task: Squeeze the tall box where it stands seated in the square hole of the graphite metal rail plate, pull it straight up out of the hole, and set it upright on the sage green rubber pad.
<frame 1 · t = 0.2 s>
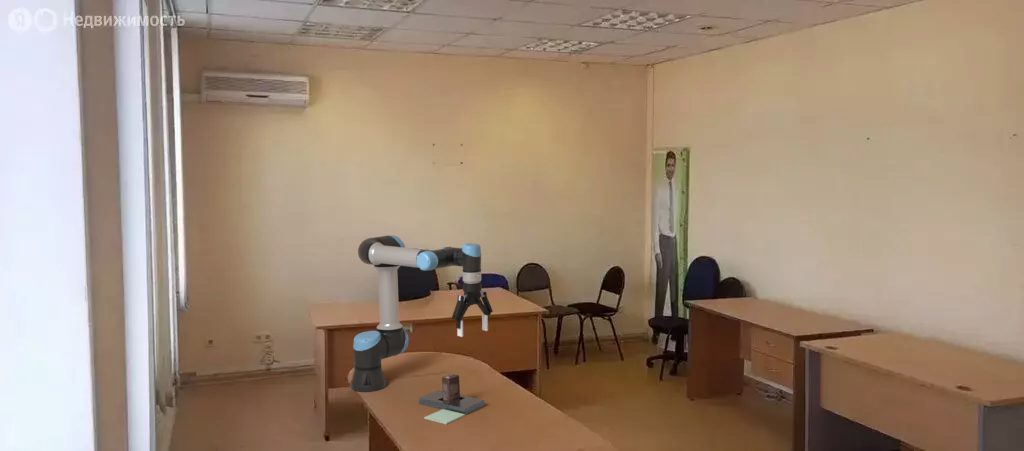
hand: (472, 333, 305), 27 cm above the table, fingers open, 13 cm apart
box: (451, 405, 301), resting in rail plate
pad: (444, 417, 286), on the table
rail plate: (451, 404, 300), on the table
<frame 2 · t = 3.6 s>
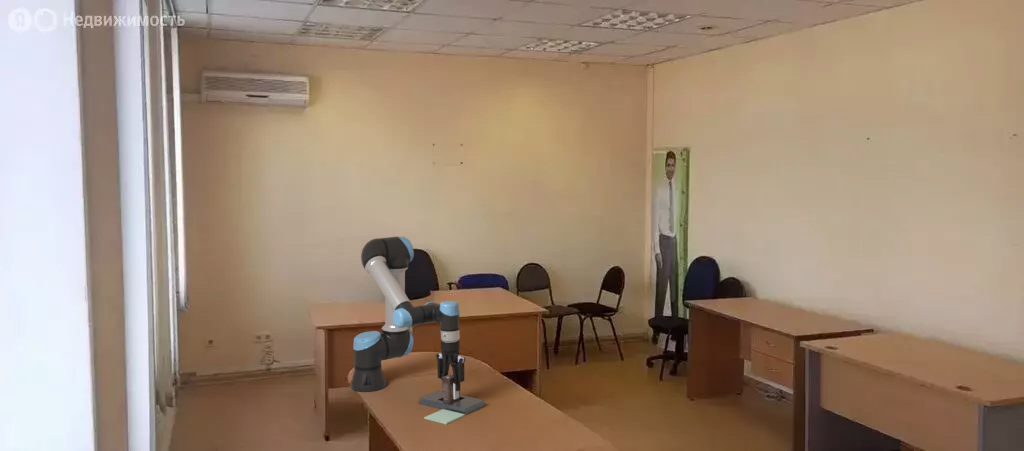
hand: (451, 397, 300), 3 cm above the table, fingers closed on box, 4 cm apart
box: (451, 405, 300), resting in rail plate, touching gripper
when the fingers open (5 cm above the table, at t = 9.7 s): box drops 1 cm, resting on pad.
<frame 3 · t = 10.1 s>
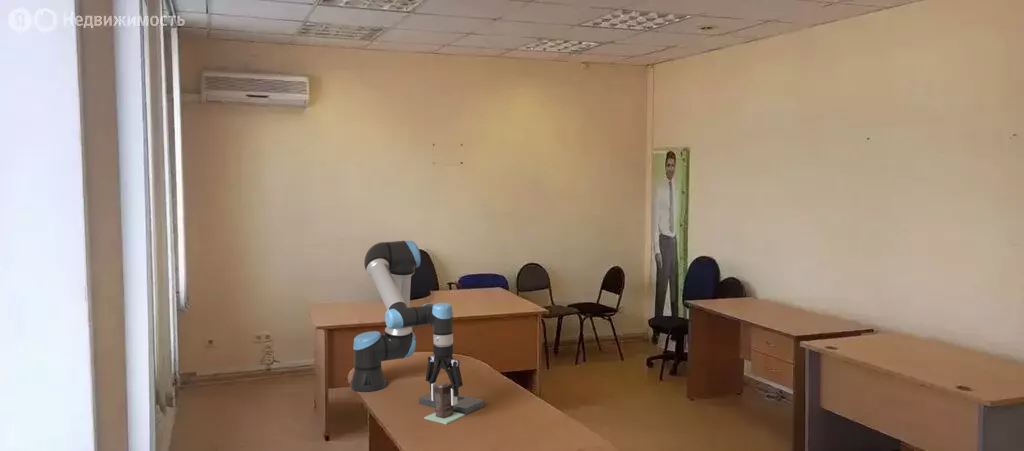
hand: (444, 402, 286), 6 cm above the table, fingers open, 9 cm apart
box: (444, 416, 286), resting on pad
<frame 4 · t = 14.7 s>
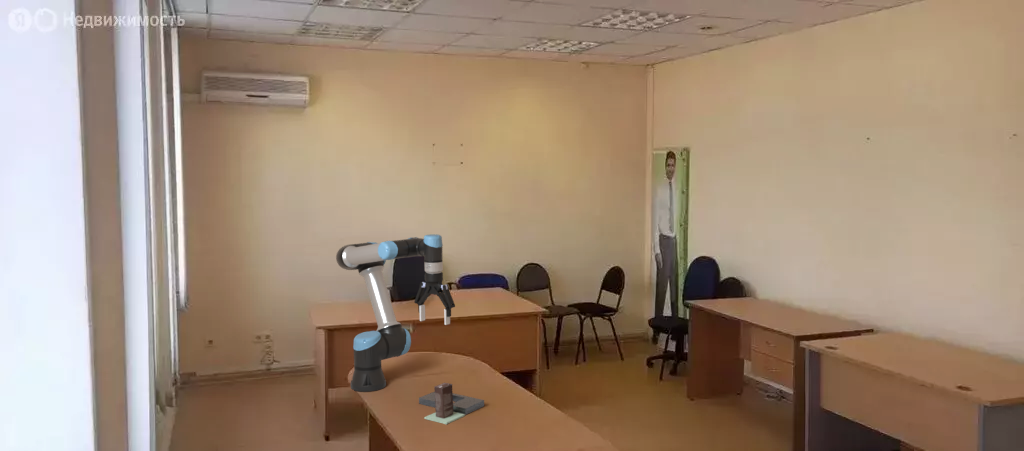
hand: (434, 322, 311), 31 cm above the table, fingers open, 13 cm apart
nothing on the table moved.
at the end: box inside the target area on the pad (0.2 cm from its centre), point 0.4 cm above the pad's base; box tilted 0°; the gripper is holding nothing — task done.
